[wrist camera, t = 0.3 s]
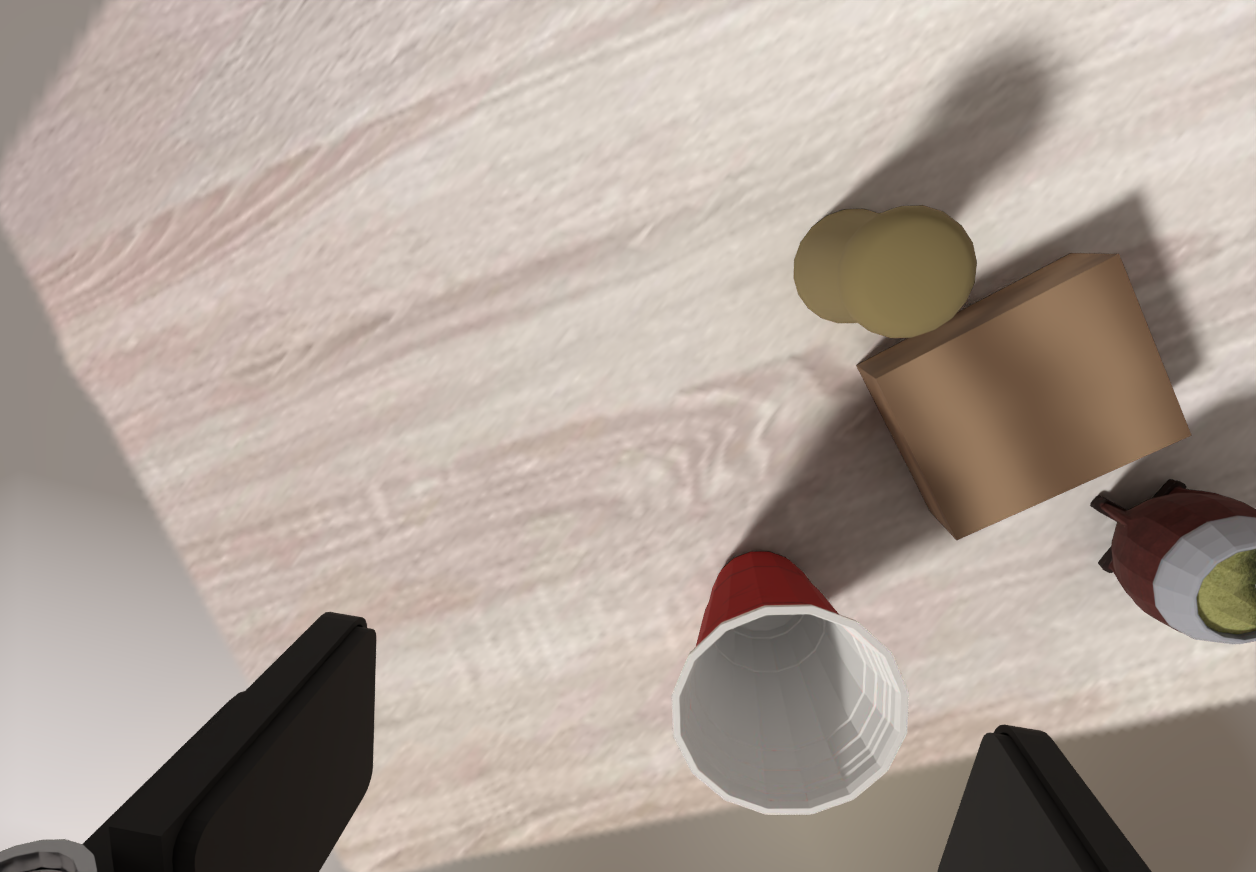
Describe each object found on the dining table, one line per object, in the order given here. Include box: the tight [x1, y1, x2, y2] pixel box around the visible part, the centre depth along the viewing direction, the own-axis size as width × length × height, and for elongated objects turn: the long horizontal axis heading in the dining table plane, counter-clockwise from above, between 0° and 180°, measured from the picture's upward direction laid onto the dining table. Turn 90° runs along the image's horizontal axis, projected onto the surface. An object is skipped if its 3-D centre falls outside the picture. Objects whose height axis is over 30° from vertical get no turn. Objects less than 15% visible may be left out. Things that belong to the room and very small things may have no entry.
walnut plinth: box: [856, 253, 1191, 540], centre depth 35 cm, size 12×10×4 cm
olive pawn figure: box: [794, 205, 977, 338], centre depth 30 cm, size 6×6×11 cm
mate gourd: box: [1090, 479, 1256, 644], centre depth 31 cm, size 8×8×15 cm
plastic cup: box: [672, 551, 909, 815], centre depth 35 cm, size 11×11×12 cm
